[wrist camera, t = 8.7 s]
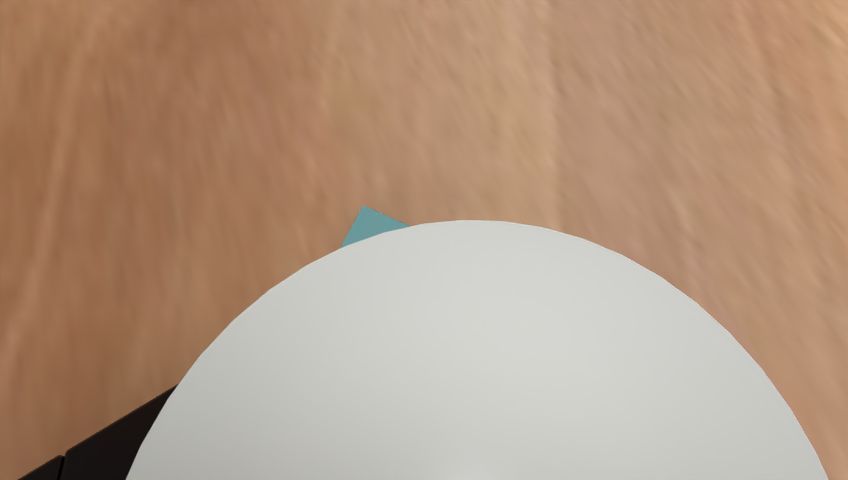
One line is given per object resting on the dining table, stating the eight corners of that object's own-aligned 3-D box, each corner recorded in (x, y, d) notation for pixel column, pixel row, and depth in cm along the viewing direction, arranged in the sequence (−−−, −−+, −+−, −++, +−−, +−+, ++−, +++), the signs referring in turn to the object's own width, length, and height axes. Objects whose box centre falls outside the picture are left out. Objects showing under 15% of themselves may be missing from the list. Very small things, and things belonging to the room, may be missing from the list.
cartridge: (506, 509, 13) (1017, 1118, 2) (334, 521, 13) (-12, 1297, 2) (490, 336, 15) (758, 212, 4) (336, 343, 14) (142, 229, 3)
